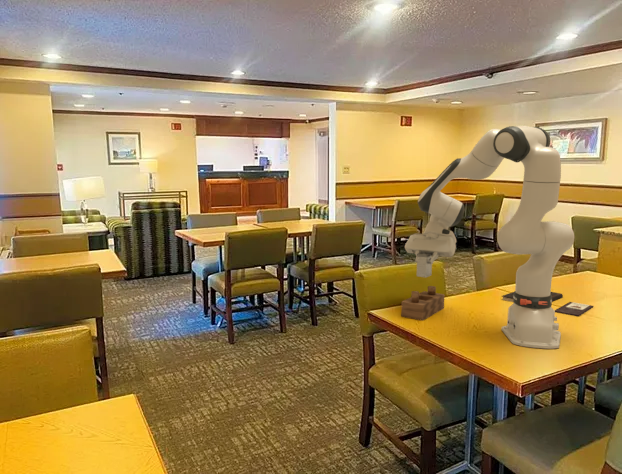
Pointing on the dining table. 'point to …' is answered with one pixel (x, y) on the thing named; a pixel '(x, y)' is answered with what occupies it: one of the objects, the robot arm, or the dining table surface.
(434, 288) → the brown block with knob
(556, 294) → the hardcover book
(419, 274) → the grey upright block
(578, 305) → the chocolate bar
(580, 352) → the dining table surface
